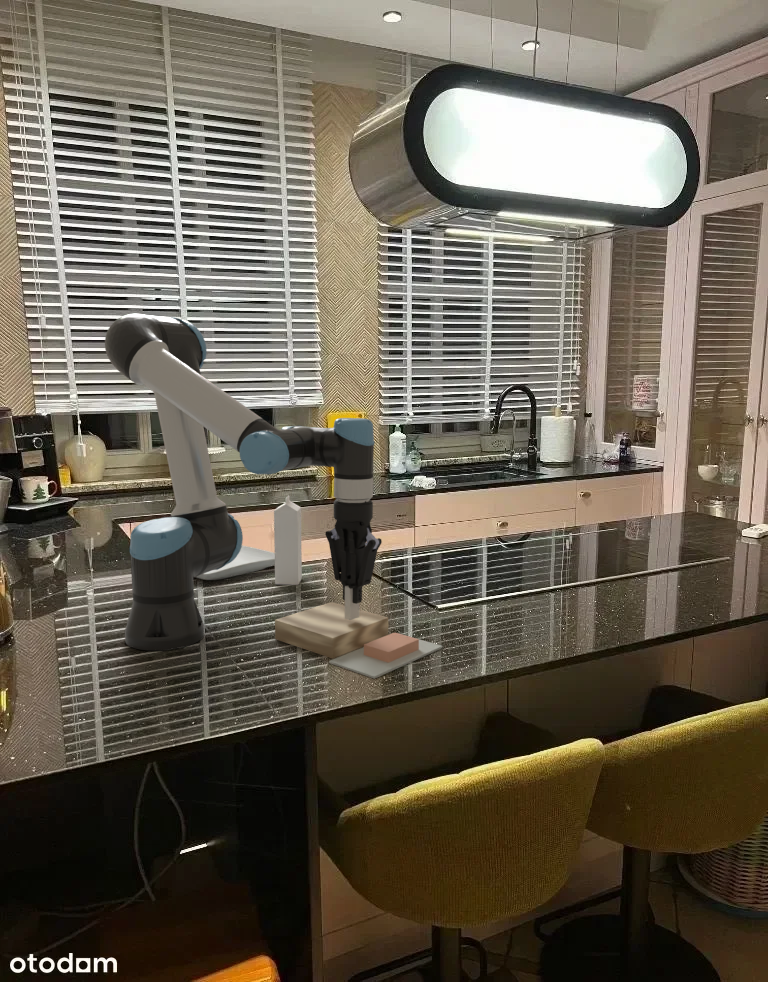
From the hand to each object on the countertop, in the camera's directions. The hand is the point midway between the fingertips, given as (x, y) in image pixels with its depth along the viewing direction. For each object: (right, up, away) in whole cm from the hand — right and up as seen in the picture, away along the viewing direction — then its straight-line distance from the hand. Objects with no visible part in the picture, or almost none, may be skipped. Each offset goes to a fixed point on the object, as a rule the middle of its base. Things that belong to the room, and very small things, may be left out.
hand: (352, 617), depth 147 cm
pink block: (+8, -4, -6) cm, 10 cm away
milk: (-18, +2, +45) cm, 48 cm away
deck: (-4, -5, +3) cm, 7 cm away
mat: (+7, -6, -6) cm, 11 cm away
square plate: (-39, +3, +59) cm, 71 cm away
